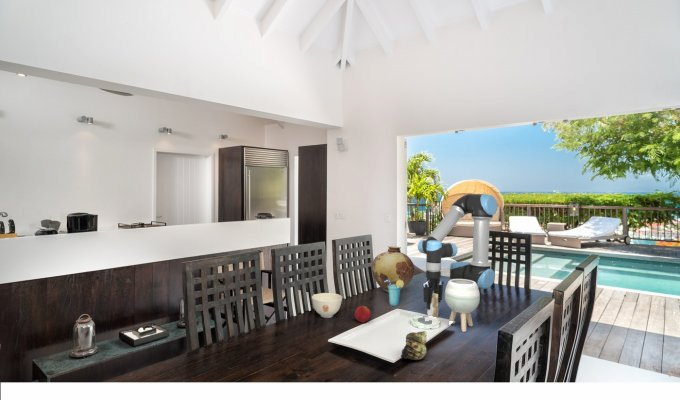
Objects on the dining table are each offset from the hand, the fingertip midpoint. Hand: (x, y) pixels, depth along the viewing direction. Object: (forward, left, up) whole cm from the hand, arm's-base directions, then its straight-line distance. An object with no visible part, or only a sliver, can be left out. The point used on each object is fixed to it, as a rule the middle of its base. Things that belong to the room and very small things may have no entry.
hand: (432, 314), depth 205 cm
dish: (+12, +7, -1) cm, 14 cm away
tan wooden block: (0, 0, -1) cm, 1 cm away
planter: (0, +19, -1) cm, 19 cm away
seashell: (+44, +34, -1) cm, 56 cm away
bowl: (+48, -28, -1) cm, 56 cm away
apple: (+37, -11, -1) cm, 39 cm away
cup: (+4, -28, -1) cm, 28 cm away
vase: (-13, -50, -1) cm, 52 cm away
